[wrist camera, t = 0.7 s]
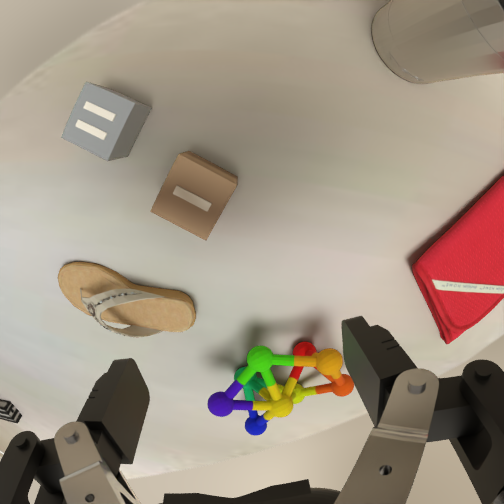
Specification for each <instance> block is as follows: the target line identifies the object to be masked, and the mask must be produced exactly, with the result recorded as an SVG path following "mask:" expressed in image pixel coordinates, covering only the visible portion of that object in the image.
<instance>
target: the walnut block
mask: <svg viewBox="0 0 504 504" xmlns="http://www.w3.org/2000/svg"><path fill="white" fill-rule="evenodd" d="M237 181H238V177H237V176H235V175H234V174H232V173H230V172H228V171H226V170H224V169H223V168H221V167H219V166H217V165H215V164H213V163H211V162H209V161H207V160H206V159H204V158H202V157H200V156H198V155H196V154H194V153H192V152H190V151H187V152H183V153H180V154H178V156H177V158H176V160H175V162H174V164H173V166H172V168H171V170H170V172H169V174H168V176H167V178H166V180H165V182H164V184H163V186H162V188H161V190H160V192H159V194H158V196H157V198H156V200H155V202H154V205H153V207H152V209H151V212H152V213H154V214H156V215H158V216H160V217H162V218H164V219H166V220H168V221H170V222H172V223H173V224H175V225H177V226H179V227H181V228H183V229H185V230H187V231H189V232H191V233H193V234H195V235H196V236H198V237H200V238H202V239H204V240H207V238H208V236H209V235H210V233H211V231H212V229H213V227H214V226H215V224H216V222H217V220H218V218H219V217H220V215H221V213H222V211H223V209H224V208H225V206H226V204H227V202H228V200H229V199H230V197H231V195H232V193H233V192H234V190H235V188H236V186H237Z"/></svg>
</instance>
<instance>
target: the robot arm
mask: <svg viewBox="0 0 504 504" xmlns="http://www.w3.org/2000/svg"><path fill="white" fill-rule="evenodd" d="M372 37H373V42H374V45H375V47H376V50H377V52H378V54H379V55H380V57H381V59H382V60H383V61H384V63H385V64H386V65H387V66H388V67H389V68H390V69H391V70H392V71H393V72H394V73H395V74H397V75H398V76H400V77H401V78H403V79H405V80H407V81H409V82H413V83H417V84H428V83H434V82H439V81H445V80H452V79H458V78H465V77H472V76H480V75H488V74H497V73H504V0H392V1H390V2H389V3H388V4H387V5H385V6H384V7H383V8H381V9H380V10H379V11H378V12H377V14H376V15H375V17H374V20H373V23H372ZM342 339H343V355H344V361H345V365H346V368H347V370H348V372H349V374H350V376H351V378H352V380H353V382H354V384H355V386H356V388H357V391H358V393H359V395H360V397H361V399H362V401H363V403H364V405H365V407H366V409H367V411H368V413H369V416H370V418H371V420H372V422H373V424H374V426H375V427H373V429H372V431H371V433H370V435H369V437H368V439H367V441H366V443H365V445H364V448H363V450H362V452H361V454H360V456H359V458H358V460H357V462H356V464H355V466H354V468H353V470H352V472H351V474H350V476H349V477H348V479H347V481H346V483H345V485H344V487H343V488H342V490H341V492H340V491H337V490H332V489H325V488H310V485H309V480H308V479H307V480H302V481H297V482H291V483H286V484H280V485H274V486H270V487H267V488H265V489H262V490H259V491H256V492H253V493H250V494H247V495H244V496H241V497H237V498H226V497H219V496H212V495H206V494H199V493H185V494H164V500H163V503H160V504H405V503H406V501H407V498H408V496H409V493H410V491H411V488H412V485H413V482H414V479H415V476H416V473H417V470H418V467H419V464H420V461H421V458H422V454H423V451H424V447H425V444H426V442H433V441H439V440H446V439H449V440H450V442H451V444H452V446H453V448H454V449H455V451H456V453H457V455H458V457H459V459H460V461H461V462H462V464H463V466H464V468H465V470H466V472H467V474H468V476H469V478H470V480H471V482H472V484H473V486H474V488H475V490H476V492H477V494H478V496H479V498H480V500H481V503H482V504H504V372H503V371H502V369H501V368H500V367H499V366H498V365H497V364H495V363H494V362H492V361H488V360H475V361H473V362H470V363H469V364H467V365H466V366H465V368H464V370H463V373H462V376H456V377H449V378H437V376H436V375H435V374H434V373H432V372H431V371H429V370H426V369H418V368H417V367H416V365H415V364H414V363H413V361H412V360H411V359H410V358H409V356H408V355H407V354H406V352H405V351H404V350H403V349H402V347H401V346H399V344H398V342H397V341H396V340H394V337H393V336H392V335H391V334H390V332H389V331H388V330H386V329H384V328H383V327H381V326H379V325H375V326H371V327H370V326H369V325H368V323H367V322H366V321H365V319H364V318H363V317H362V316H358V317H354V318H350V319H346V320H343V321H342ZM149 401H150V396H149V390H148V388H147V385H146V383H145V381H144V379H143V377H142V375H141V373H140V371H139V369H138V367H137V364H136V362H135V361H134V360H133V359H132V358H129V359H119V360H114V361H113V362H112V364H111V366H110V368H109V370H108V372H107V373H104V374H103V375H102V376H101V377H100V378H99V379H98V380H97V381H96V383H95V385H94V387H93V389H92V392H91V393H90V395H89V399H87V401H86V403H85V405H84V407H83V409H82V411H81V413H80V415H79V417H78V419H77V421H76V422H70V423H67V424H65V425H64V426H62V427H61V428H60V429H59V430H58V431H57V433H56V434H55V437H54V438H52V439H47V440H42V441H40V440H39V438H38V437H37V436H36V435H35V433H33V432H31V431H24V432H21V433H19V434H17V435H16V436H15V437H14V438H13V439H12V440H11V442H10V444H9V446H8V447H7V449H6V451H5V453H4V455H3V457H2V459H1V461H0V504H30V503H29V501H28V492H29V489H30V487H31V484H32V481H33V479H35V480H36V481H37V482H38V483H39V484H40V485H41V486H40V489H39V492H38V494H37V498H36V500H35V503H34V504H141V503H140V501H139V500H138V498H137V497H136V495H135V493H134V492H133V490H132V489H131V487H130V485H129V484H128V482H127V480H126V479H125V477H124V475H123V474H122V472H121V471H120V470H119V467H120V464H133V460H134V456H135V452H136V448H137V445H138V441H139V437H140V434H141V430H142V426H143V423H144V419H145V416H146V412H147V409H148V405H149Z"/></svg>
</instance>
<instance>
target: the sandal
mask: <svg viewBox="0 0 504 504" xmlns="http://www.w3.org/2000/svg"><path fill="white" fill-rule="evenodd" d="M58 281H59V286H60V288H61V290H62V292H63V294H64V295H65V297H66V298H67V299H68V300H69V301H70V302H71V303H72V304H73V305H74V306H75V307H77V308H78V309H80V310H81V311H83V312H84V313H86V314H88V315H90V316H93V318H94V319H95V320H96V321H97V322H99V323H100V325H101V326H103V327H104V326H105V327H104V328H105V329H108V330H109V331H110V332H111V331H113V332H115V333H119V334H120V335H121V334H122V335H124V336H129V337H136V338H138V337H144V336H150V335H153V334H157V333H160V332H162V331H169V332H182V331H185V330H188V329H189V328H190V327H191V326H192V325H194V322H195V319H196V311H195V309H194V306H193V302H192V300H191V299H190V297H189V296H188V295H186V294H185V293H183V292H181V291H178V290H170V289H162V288H155V287H148V286H140V285H136V284H133V283H131V282H130V281H129V280H127V279H126V278H125V277H123V276H122V275H120V274H119V273H117V272H116V271H113V270H111V269H109V268H106V267H104V266H102V265H99V264H95V263H88V262H72V263H69V264H66V265H64V266H63V267H62V268H61V269H60V271H59V274H58ZM102 320H105V321H108V322H114V323H120V324H127V325H131V326H130V327H127V328H124V329H118V328H113V327H111V326H108V325H106V324H105V323H104V322H103V321H102ZM106 327H107V328H106Z"/></svg>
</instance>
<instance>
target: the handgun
mask: <svg viewBox="0 0 504 504" xmlns="http://www.w3.org/2000/svg"><path fill="white" fill-rule="evenodd" d="M21 417H22V415H21V413H20V412H19V411H18V410H17V409H16V408H15V406H14V405H13V404H12V403H11V402H10V401H5V400H1V399H0V419H3V420H6V421H10V422H14V423H18V422H19V420H20V418H21Z"/></svg>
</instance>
